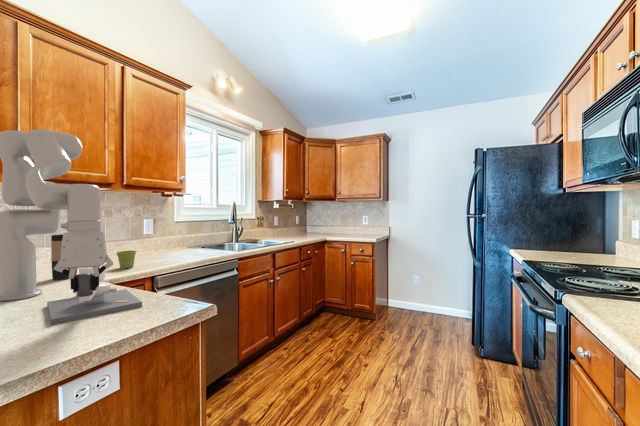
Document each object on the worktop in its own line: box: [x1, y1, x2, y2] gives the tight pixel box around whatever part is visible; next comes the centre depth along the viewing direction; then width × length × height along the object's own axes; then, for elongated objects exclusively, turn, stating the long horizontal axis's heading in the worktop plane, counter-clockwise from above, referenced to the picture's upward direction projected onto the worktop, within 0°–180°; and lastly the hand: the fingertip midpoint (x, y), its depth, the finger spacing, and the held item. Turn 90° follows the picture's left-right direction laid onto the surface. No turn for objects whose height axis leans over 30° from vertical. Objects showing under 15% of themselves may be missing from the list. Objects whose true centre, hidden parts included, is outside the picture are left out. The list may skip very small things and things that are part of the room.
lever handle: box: [76, 273, 118, 302], centre depth 95 cm, size 20×10×8 cm, turn 27°
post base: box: [46, 288, 143, 326], centre depth 98 cm, size 22×22×4 cm
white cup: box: [78, 264, 106, 282], centre depth 114 cm, size 8×8×10 cm
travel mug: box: [50, 233, 71, 281], centre depth 138 cm, size 8×8×20 cm
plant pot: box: [115, 250, 137, 270], centre depth 163 cm, size 9×9×9 cm
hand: (85, 289), depth 87 cm, fingers closed on lever handle, 3 cm apart
